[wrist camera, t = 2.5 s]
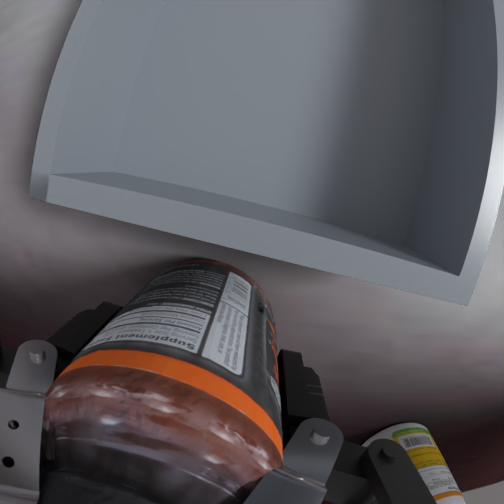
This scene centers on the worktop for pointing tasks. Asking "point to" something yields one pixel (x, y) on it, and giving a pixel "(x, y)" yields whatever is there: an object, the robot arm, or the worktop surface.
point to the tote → (289, 130)
